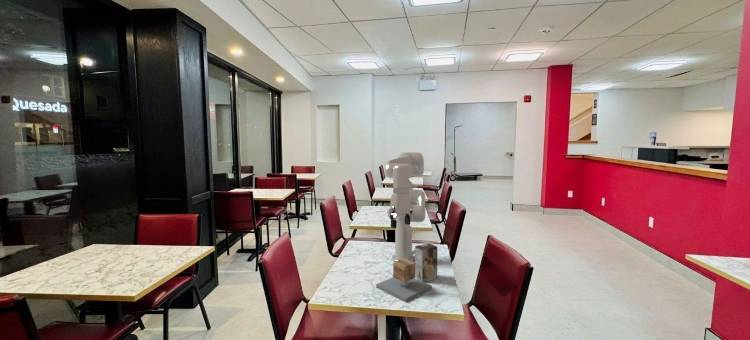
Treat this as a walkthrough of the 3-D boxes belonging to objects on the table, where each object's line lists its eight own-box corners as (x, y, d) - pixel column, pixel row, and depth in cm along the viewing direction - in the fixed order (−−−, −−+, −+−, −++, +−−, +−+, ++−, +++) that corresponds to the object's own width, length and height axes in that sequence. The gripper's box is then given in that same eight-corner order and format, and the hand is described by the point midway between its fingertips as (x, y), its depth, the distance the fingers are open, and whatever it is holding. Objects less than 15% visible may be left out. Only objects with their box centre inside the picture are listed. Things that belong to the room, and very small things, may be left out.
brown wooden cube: (403, 272, 146) (404, 258, 145) (415, 277, 141) (415, 262, 140) (393, 277, 141) (393, 262, 141) (404, 282, 136) (404, 266, 136)
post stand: (402, 276, 154) (402, 255, 153) (432, 288, 141) (432, 266, 140) (376, 287, 142) (376, 265, 141) (405, 302, 129) (405, 277, 128)
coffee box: (429, 273, 157) (430, 242, 156) (437, 278, 151) (438, 246, 150) (414, 277, 153) (414, 245, 152) (422, 282, 147) (422, 249, 146)
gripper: (407, 188, 156) (406, 221, 158) (382, 191, 145) (382, 227, 146) (418, 189, 151) (418, 224, 152) (394, 193, 139) (393, 230, 141)
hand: (400, 225), depth 149 cm, fingers open, 9 cm apart
